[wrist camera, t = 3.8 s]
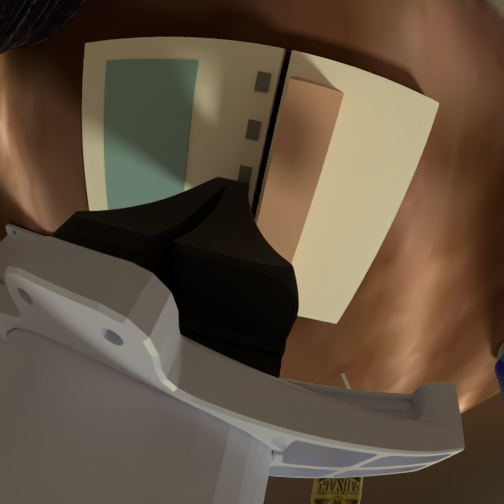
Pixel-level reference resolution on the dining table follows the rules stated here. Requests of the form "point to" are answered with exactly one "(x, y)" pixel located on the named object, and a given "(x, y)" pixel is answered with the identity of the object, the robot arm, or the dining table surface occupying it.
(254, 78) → the cream teal notepad
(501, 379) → the beer can
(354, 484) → the sauce bottle
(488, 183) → the dining table surface
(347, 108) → the cream and brown block
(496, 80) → the dining table surface
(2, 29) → the storage jar
